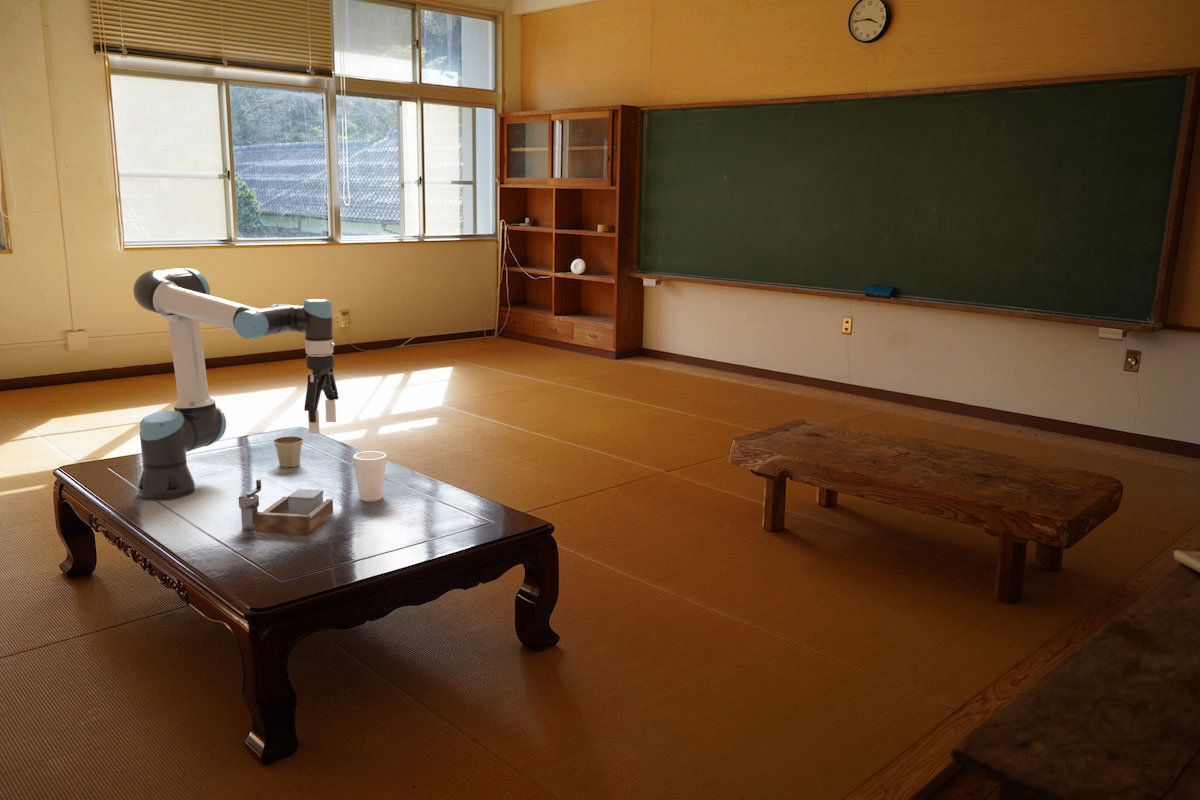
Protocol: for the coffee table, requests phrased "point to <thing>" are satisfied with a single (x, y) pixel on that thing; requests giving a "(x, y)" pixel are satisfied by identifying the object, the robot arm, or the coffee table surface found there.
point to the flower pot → (288, 450)
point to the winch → (249, 507)
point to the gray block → (304, 501)
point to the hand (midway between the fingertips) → (322, 427)
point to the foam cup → (370, 474)
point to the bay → (291, 518)
